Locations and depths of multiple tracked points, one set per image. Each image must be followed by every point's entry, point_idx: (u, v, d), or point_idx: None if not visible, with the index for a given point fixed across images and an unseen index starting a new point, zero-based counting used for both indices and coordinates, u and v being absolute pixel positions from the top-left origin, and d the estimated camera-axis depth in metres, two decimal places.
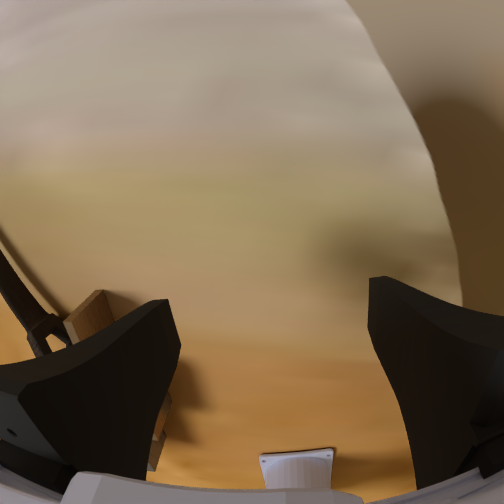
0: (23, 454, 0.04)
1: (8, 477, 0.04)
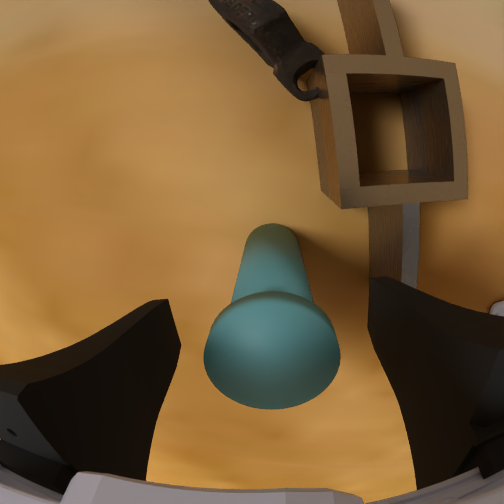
0: (23, 454, 0.04)
1: (8, 477, 0.04)
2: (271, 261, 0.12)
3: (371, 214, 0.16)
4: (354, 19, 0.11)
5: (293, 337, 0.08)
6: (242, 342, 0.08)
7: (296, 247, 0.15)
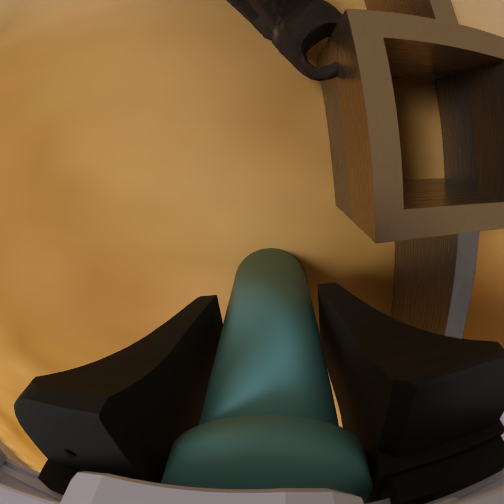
0: None
1: (8, 477, 0.04)
2: (268, 324, 0.07)
3: None
4: None
5: (301, 484, 0.04)
6: (217, 486, 0.04)
7: (303, 286, 0.11)
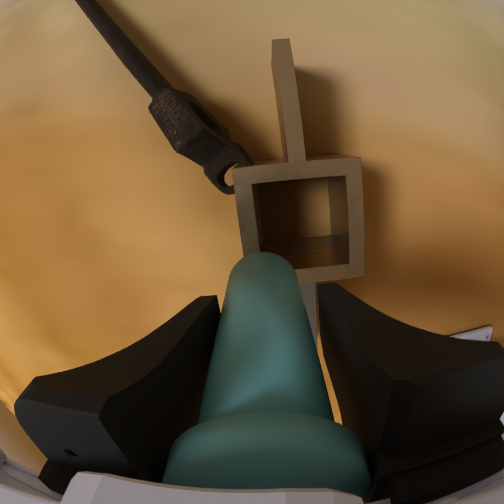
0: None
1: (8, 477, 0.04)
2: (264, 325, 0.08)
3: None
4: (279, 108, 0.15)
5: (302, 480, 0.04)
6: (219, 484, 0.04)
7: (297, 289, 0.11)
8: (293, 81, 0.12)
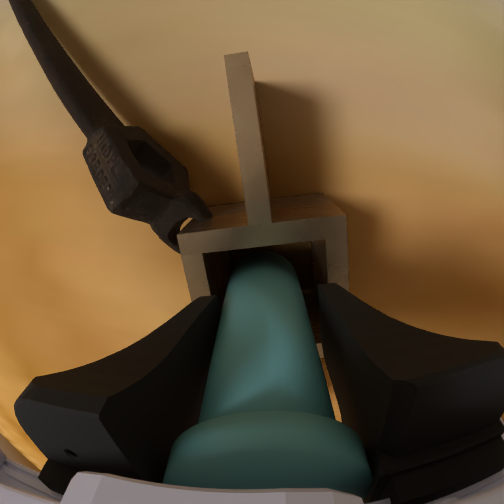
0: None
1: (8, 477, 0.04)
2: (265, 324, 0.08)
3: None
4: None
5: (304, 479, 0.04)
6: (221, 483, 0.04)
7: (297, 288, 0.11)
8: (253, 113, 0.09)
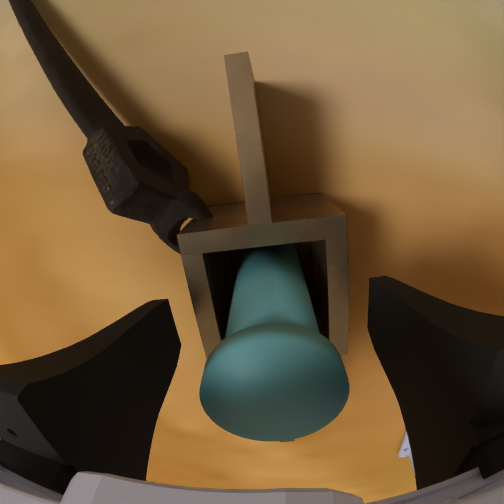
0: (23, 454, 0.04)
1: (8, 477, 0.04)
2: (271, 279, 0.10)
3: None
4: None
5: (299, 374, 0.07)
6: (242, 379, 0.07)
7: (296, 259, 0.14)
8: (253, 113, 0.09)
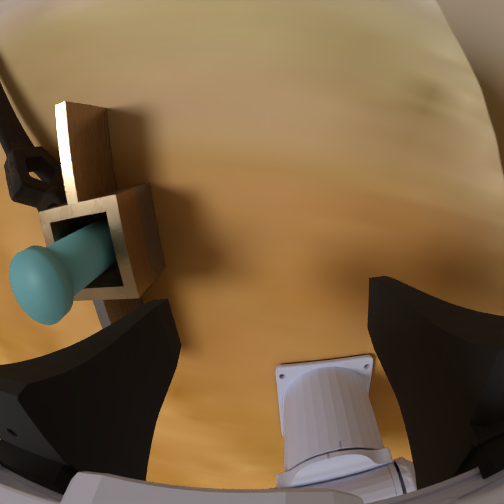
0: (23, 454, 0.04)
1: (8, 477, 0.04)
2: (72, 234, 0.15)
3: None
4: None
5: (38, 271, 0.11)
6: (20, 273, 0.12)
7: None
8: (66, 138, 0.14)
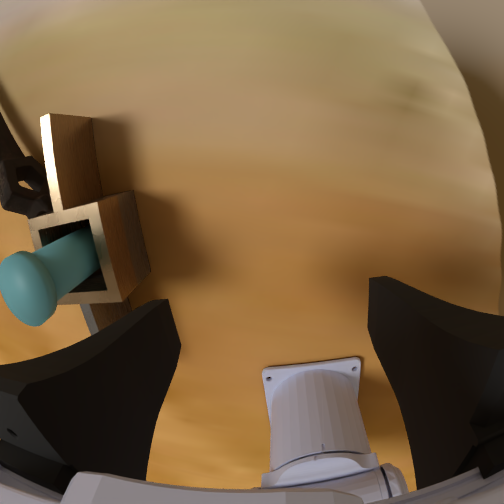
0: (23, 454, 0.04)
1: (8, 477, 0.04)
2: (58, 240, 0.15)
3: None
4: None
5: (23, 275, 0.12)
6: (8, 276, 0.12)
7: None
8: (51, 149, 0.14)
